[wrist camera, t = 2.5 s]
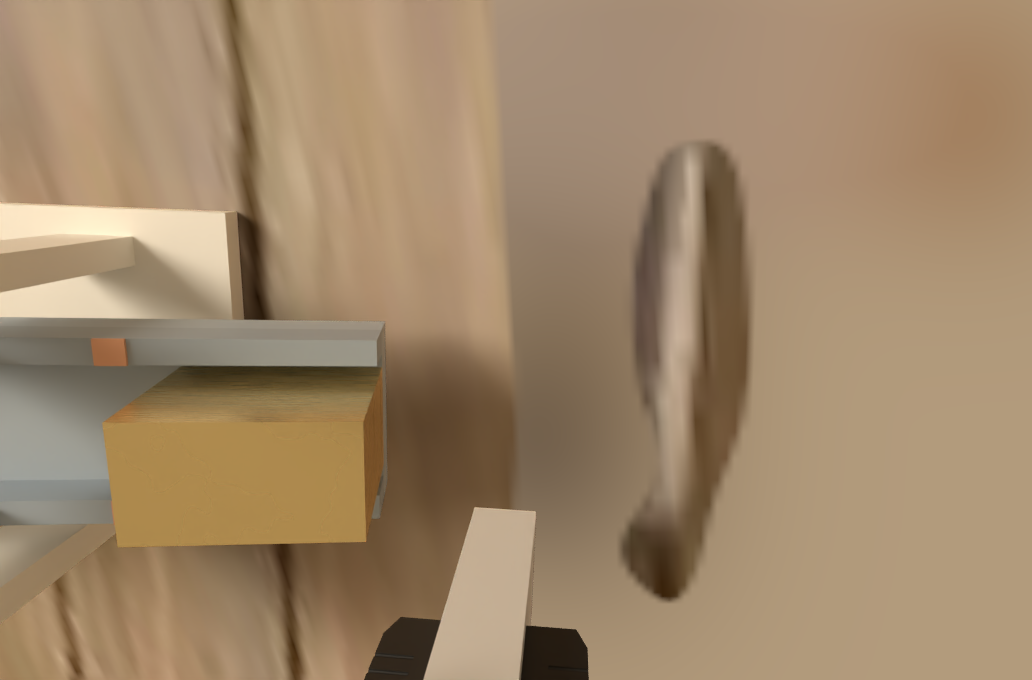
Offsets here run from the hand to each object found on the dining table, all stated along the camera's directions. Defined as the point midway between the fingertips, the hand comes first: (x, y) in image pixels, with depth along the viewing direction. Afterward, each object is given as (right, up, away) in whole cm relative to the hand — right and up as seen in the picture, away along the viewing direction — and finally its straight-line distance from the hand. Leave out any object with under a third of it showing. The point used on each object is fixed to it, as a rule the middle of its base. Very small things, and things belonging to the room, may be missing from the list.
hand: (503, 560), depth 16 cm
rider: (-8, +3, +8) cm, 12 cm away
